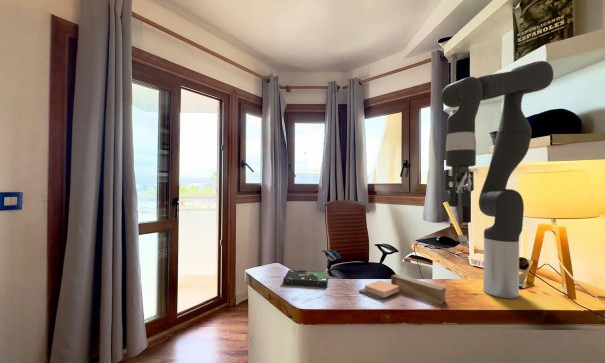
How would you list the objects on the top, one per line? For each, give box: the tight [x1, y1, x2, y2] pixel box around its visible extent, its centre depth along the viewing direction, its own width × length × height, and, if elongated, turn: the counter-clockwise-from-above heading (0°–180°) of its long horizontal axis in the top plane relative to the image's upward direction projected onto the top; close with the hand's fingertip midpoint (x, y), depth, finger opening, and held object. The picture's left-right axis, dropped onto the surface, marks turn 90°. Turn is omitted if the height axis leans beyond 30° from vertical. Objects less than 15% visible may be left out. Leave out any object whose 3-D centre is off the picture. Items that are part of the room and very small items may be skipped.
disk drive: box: [282, 269, 330, 289], centre depth 98 cm, size 10×3×15 cm
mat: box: [358, 287, 384, 301], centre depth 89 cm, size 10×7×1 cm
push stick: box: [390, 274, 446, 305], centre depth 88 cm, size 3×16×4 cm, turn 41°
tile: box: [364, 280, 400, 299], centre depth 88 cm, size 8×2×7 cm
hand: (459, 206), depth 81 cm, fingers open, 8 cm apart
